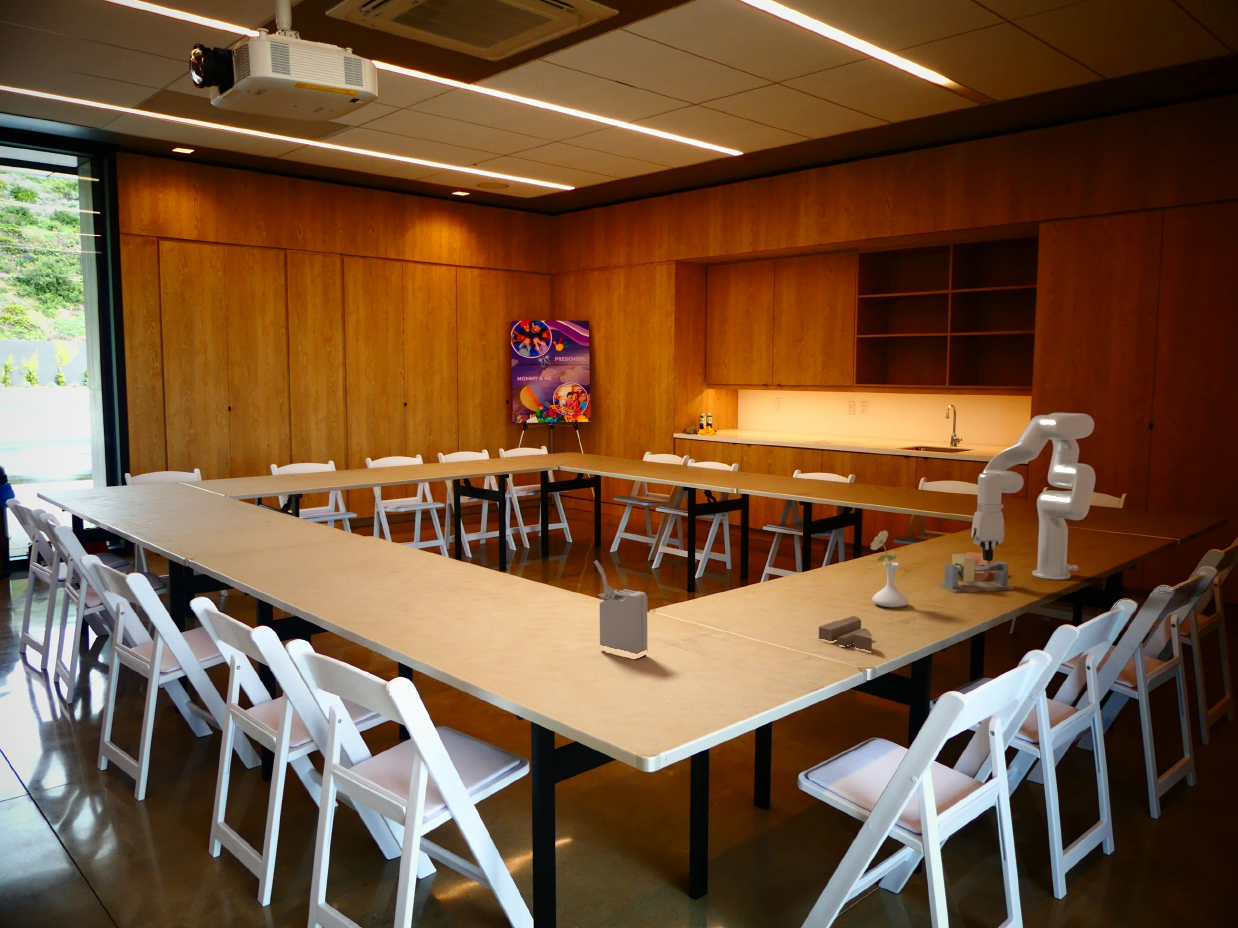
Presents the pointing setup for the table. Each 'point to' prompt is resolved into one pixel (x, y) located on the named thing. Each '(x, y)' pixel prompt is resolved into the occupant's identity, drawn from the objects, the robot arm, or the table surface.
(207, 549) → the table surface
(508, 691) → the table surface
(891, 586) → the flower in vase
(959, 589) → the base board
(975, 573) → the crank
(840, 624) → the wooden block set
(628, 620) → the jerry can
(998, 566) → the pipe rail
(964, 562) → the collar
